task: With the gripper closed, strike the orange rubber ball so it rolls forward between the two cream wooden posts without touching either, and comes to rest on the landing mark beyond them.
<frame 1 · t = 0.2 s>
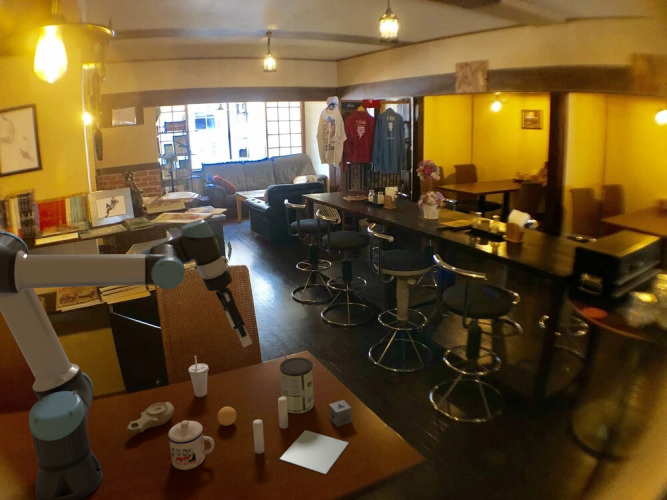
hand: (242, 336, 148), 27 cm above the table, tool tilted 15°, fingers open, 13 cm apart
smoothie: (201, 394, 168), on the table
post 1: (259, 450, 139), on the table
lily: (292, 378, 177), on the table
ball: (226, 416, 151), on the table
dice cube: (340, 421, 152), on the table
oil lamp: (153, 426, 152), on the table
teacup with lid: (194, 460, 136), on the table
coffee can: (298, 405, 161), on the table
landing mark: (314, 451, 138), on the table
post 2: (283, 425, 150), on the table
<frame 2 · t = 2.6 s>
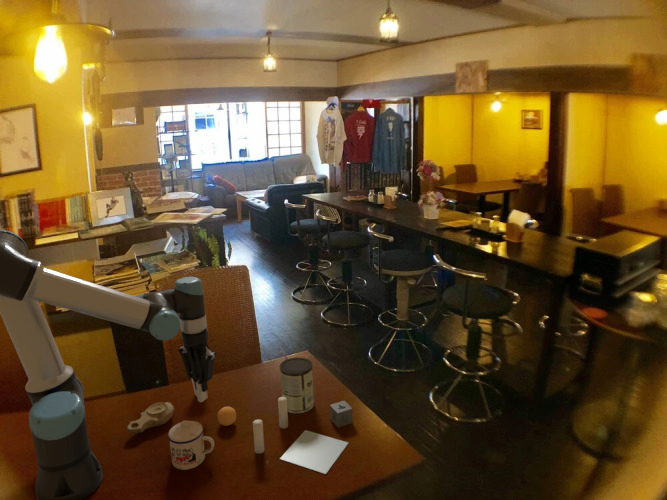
hand: (202, 399, 154), 6 cm above the table, tool pointing down, fingers closed
nothing on the table moved.
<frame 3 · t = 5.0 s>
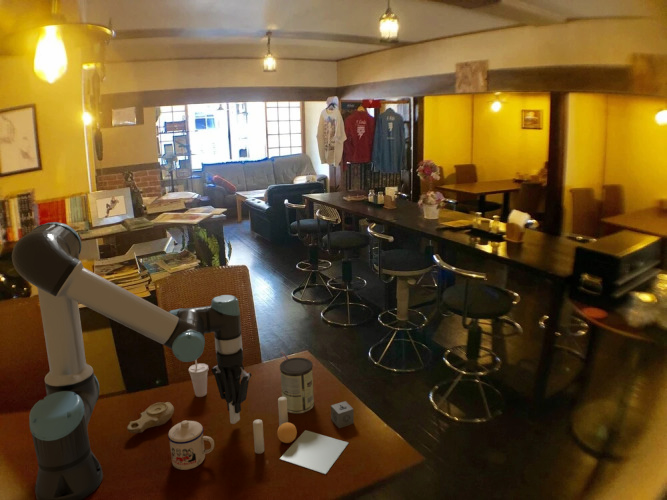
hand: (235, 420, 150), 2 cm above the table, tool pointing down, fingers closed
ball: (287, 432, 142), on the table
everything else where it was.
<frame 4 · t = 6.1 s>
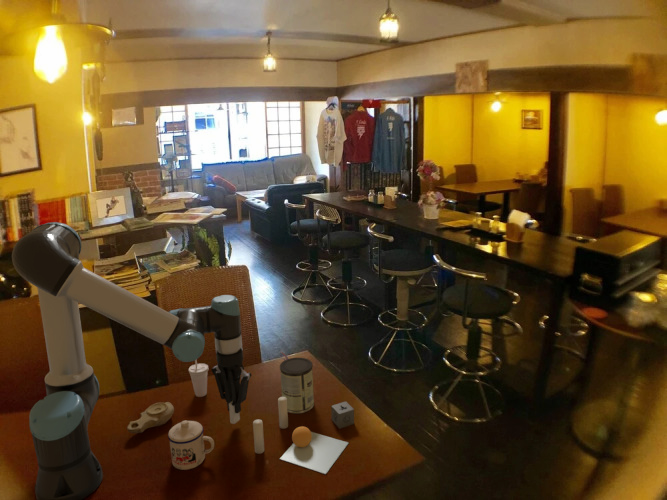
hand: (235, 420, 150), 2 cm above the table, tool pointing down, fingers closed
ball: (301, 436, 140), resting on landing mark
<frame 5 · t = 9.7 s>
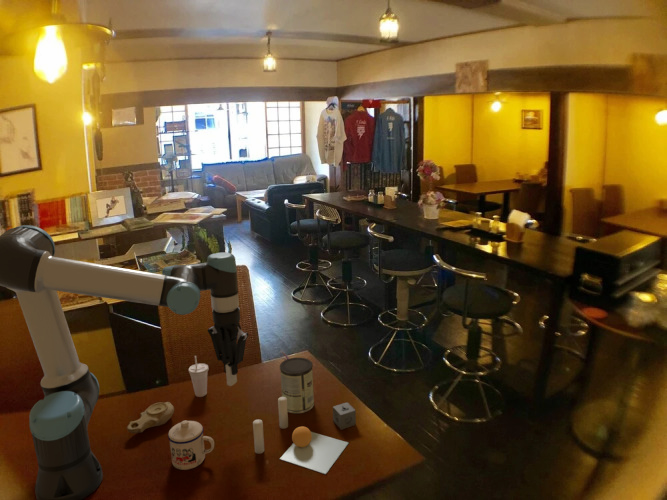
hand: (232, 383, 146), 14 cm above the table, tool pointing down, fingers closed
at the end: ball 4.5 cm from the landing mark (horizontally); ball never touched post 2; ball never touched post 1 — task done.
